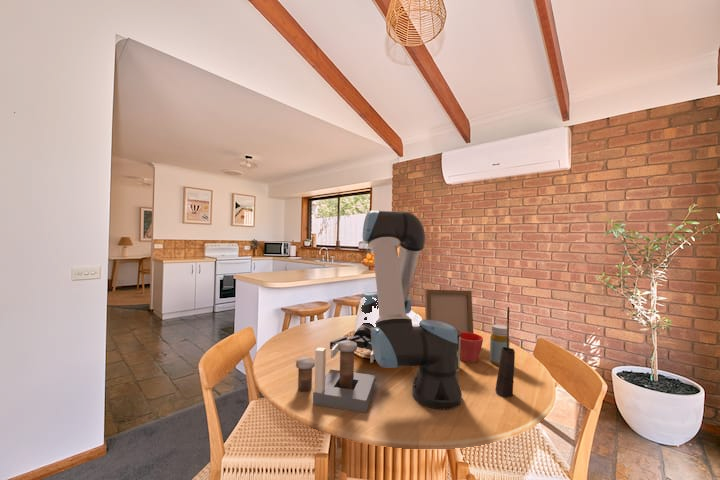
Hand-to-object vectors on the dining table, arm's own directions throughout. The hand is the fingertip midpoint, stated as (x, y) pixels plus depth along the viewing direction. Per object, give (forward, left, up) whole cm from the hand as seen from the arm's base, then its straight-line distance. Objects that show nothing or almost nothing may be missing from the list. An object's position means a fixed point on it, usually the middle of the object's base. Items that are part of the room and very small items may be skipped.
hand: (351, 356), depth 99 cm
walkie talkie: (-36, -35, -10) cm, 51 cm away
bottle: (-24, -59, -10) cm, 64 cm away
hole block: (-3, +5, -10) cm, 11 cm away
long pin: (-3, +5, -10) cm, 11 cm away
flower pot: (-14, -53, -10) cm, 56 cm away
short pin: (+8, +13, -10) cm, 18 cm away
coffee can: (-12, -39, -10) cm, 42 cm away
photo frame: (+5, -67, -10) cm, 68 cm away
